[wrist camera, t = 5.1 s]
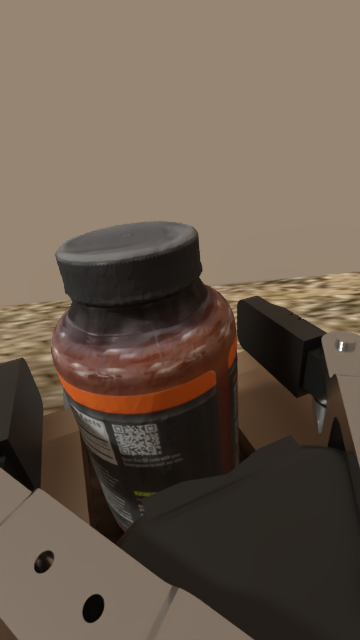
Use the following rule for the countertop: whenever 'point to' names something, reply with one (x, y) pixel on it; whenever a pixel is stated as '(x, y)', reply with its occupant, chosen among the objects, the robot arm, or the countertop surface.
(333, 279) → the countertop surface
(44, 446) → the walnut holder
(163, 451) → the supplement bottle
